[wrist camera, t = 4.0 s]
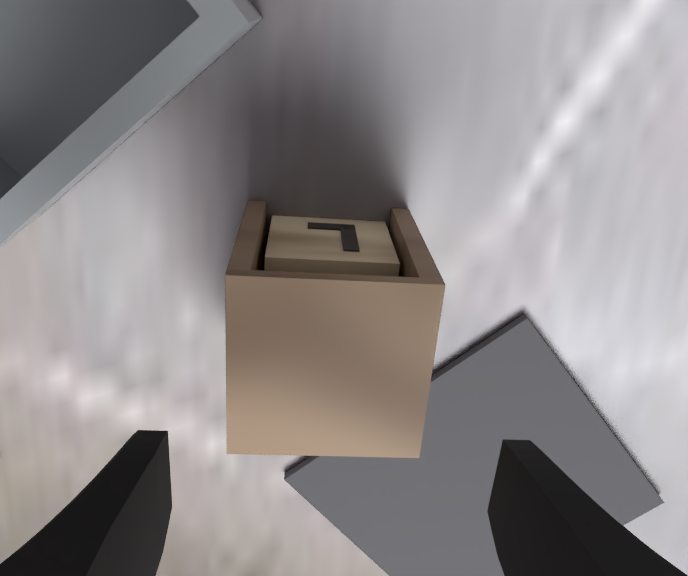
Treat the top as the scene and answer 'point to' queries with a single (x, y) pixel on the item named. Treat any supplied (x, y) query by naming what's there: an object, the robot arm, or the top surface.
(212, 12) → the grey bin
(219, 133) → the top surface
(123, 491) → the robot arm
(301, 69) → the top surface
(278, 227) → the letter cube
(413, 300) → the tan open box
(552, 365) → the rubber mat
